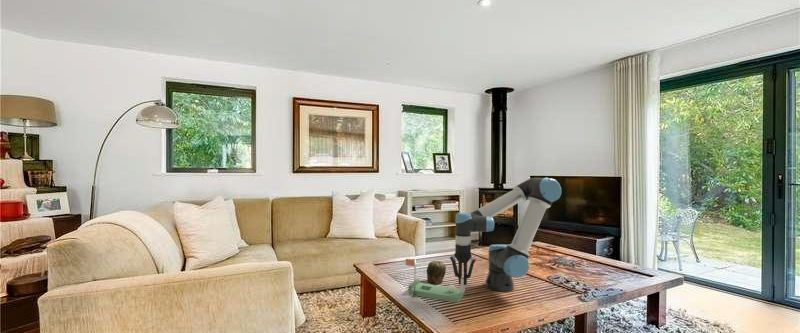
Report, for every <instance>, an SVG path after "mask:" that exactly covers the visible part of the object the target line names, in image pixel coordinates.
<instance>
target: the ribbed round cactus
mask: <svg viewBox="0 0 800 333" xmlns="http://www.w3.org/2000/svg"><path fill="white" fill-rule="evenodd" d="M446 273H447V266H446V265H445V263H444V262H443V261H442V260H437V261H436V260H433V261H429V263H428V264H427V268H426V279H427V284H430V285H440V284H442V283H443V281H444V277H445V275H446Z"/></svg>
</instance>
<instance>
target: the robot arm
mask: <svg viewBox="0 0 800 333" xmlns="http://www.w3.org/2000/svg"><path fill="white" fill-rule="evenodd" d="M561 195H562V187H561V184H560V183H559V182H558V181H557V179H554V178H549V177H530V178H528V179H527V180H524V181H522V182H521V183H519V184H517V185H515V186H514V187H513V189H512V190H510V191H508V192H506V193H505V194H503V195H501V196H499V197H498V198H496V199H494V200H492V201H491V202H489V203H487V204H484V205H483V206H481V207H480V208H479V207H478V208H477V209H476V210H474V211H471V212H470V211H469V212H457V213H456V214H455V239H454V240H455V241H454V242H455V247H454V248H455V251H454V255H451V256H450V257H449V259H450V260H451V263H452V264H451V265H452V268H453V272H454V277H455V278H456V277H457V278H458V285H459V286H460V289H461V292H464V293H465V290H466V286H467V285H468V279H470V278H471V276H472V271H473V268H474V264H475V263H476V261H477V259H476V258H474V257H473V256H472V253H471V251H472V250H471V249H472V248H471V242H472V238H471V237H472V234H471V233H476V232H477V233H478V232H479V233H480V232H481V233H482V232H483V233H485V232H486V233H487V232H493V231H494V229H495V220H494V217H496V216H497V215H499V214H501V213H503V212H505V211H507V210H508V209H510V208H512V207H513V206H515V205H518V203H521V202H523V203H524V202H527V201H528V200H529V202H528V203H529V204H528V205H527V207H526V210H525V211H524V212H525V213H524V214H523V216H522V219H521V221H520V224H519V226H518V228H517V230H516V232H515V235H514V237H513V239H512V241H511V243H510V244H502V243H501V244H500V243H499V244H491V245H489V246H488V273H487V276H486V277H485V284H484V285H485V287H486V288H487V289H489V290H493V291H495V292H496V291H497V292H511V291H513V290H514V289H515V284H514V280H513V278H514V279H515V278H516V279H518V278H521V277H524V276H525V275H526V274H527V273H528V271H529V270H530V264H529V257H530V254H529V249H530V246H532V243H533V240H534V238H535V235H536V233H537V231H538V228H539V226H540V224H541V221H542V219H543V217H544V214H546V211H547V209H549V208H551V206H552V205H553V203H554V202H556V201H558V200H559V199H560V197H561ZM457 262H458V263H457ZM468 262H470V264H469V269H468ZM457 264H458V266H457Z"/></svg>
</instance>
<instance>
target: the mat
mask: <svg viewBox="0 0 800 333" xmlns="http://www.w3.org/2000/svg"><path fill="white" fill-rule="evenodd" d="M413 294H414V281H413V282H411V283H410V284H408V295H411V296H412V295H413ZM415 294H416V295H417V297H422V298H428V299H434V300H440V301H445V302H452V303H459V302H460V301H461V300H462V298H463V297H464V295H465V291H464V292H461V288H456V287H455V291H454V292H449V291H448V286H443V285H438V284H431V283H424V282H423V283H422V282H420V278H416V284H415Z"/></svg>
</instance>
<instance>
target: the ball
mask: <svg viewBox="0 0 800 333" xmlns="http://www.w3.org/2000/svg"><path fill="white" fill-rule="evenodd" d="M447 287H448V291H449V292H454V291H455V288H456V287H455V285H453V284H449V285H448V286H447Z"/></svg>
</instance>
